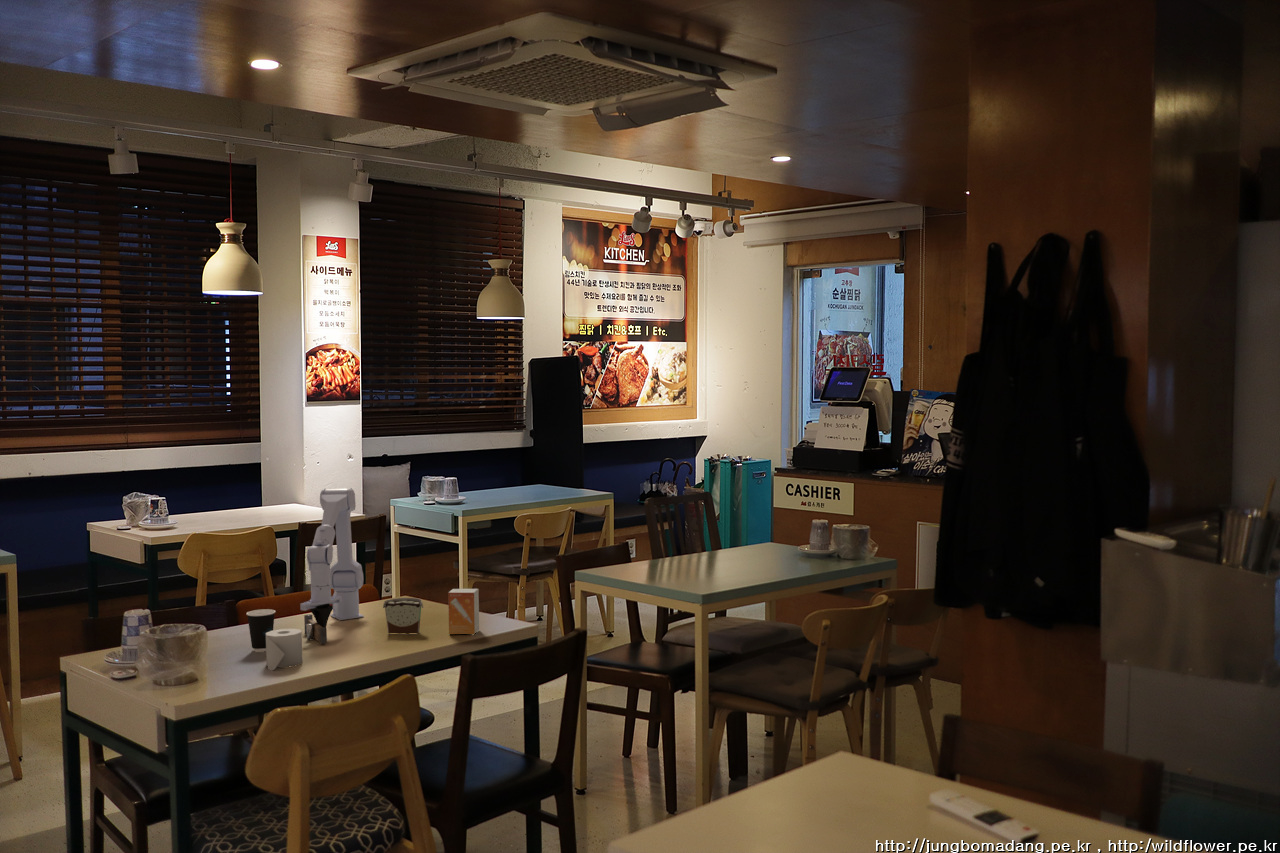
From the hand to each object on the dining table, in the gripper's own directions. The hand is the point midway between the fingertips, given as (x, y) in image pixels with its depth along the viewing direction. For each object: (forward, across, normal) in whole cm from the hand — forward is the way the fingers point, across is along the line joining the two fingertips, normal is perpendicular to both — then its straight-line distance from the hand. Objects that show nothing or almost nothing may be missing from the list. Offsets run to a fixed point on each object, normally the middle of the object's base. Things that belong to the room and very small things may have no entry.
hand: (322, 630), depth 327 cm
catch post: (+2, +4, -1) cm, 4 cm away
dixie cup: (+2, +20, -3) cm, 20 cm away
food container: (+2, -17, +18) cm, 25 cm away
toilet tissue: (+2, +29, +16) cm, 33 cm away
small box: (+2, -23, +35) cm, 42 cm away
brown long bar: (+2, +3, +1) cm, 4 cm away
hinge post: (+2, -2, -8) cm, 8 cm away
